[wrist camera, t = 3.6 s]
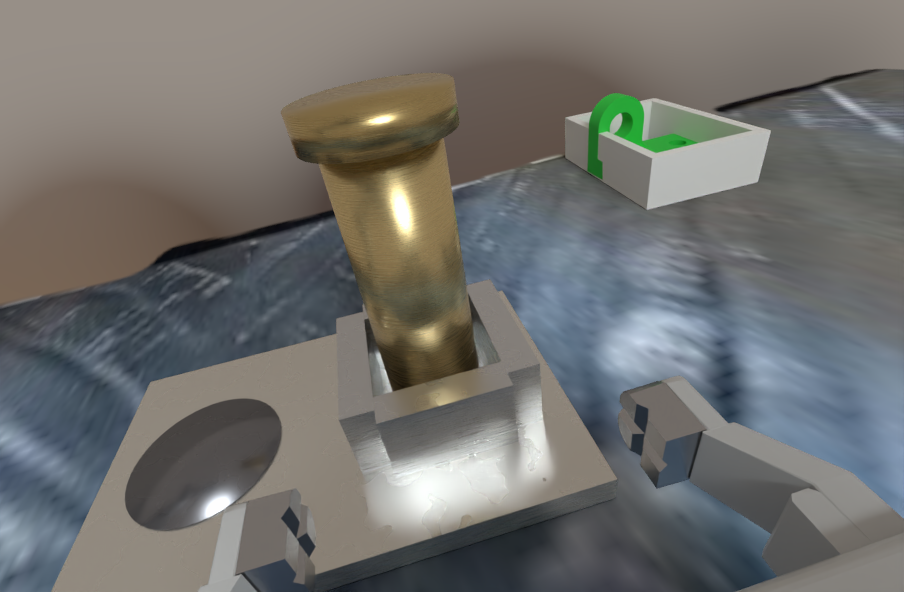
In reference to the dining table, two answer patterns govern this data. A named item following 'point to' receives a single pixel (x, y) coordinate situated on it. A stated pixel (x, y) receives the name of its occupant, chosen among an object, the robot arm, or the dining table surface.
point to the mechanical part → (624, 129)
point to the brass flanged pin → (395, 214)
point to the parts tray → (672, 154)
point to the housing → (340, 458)
